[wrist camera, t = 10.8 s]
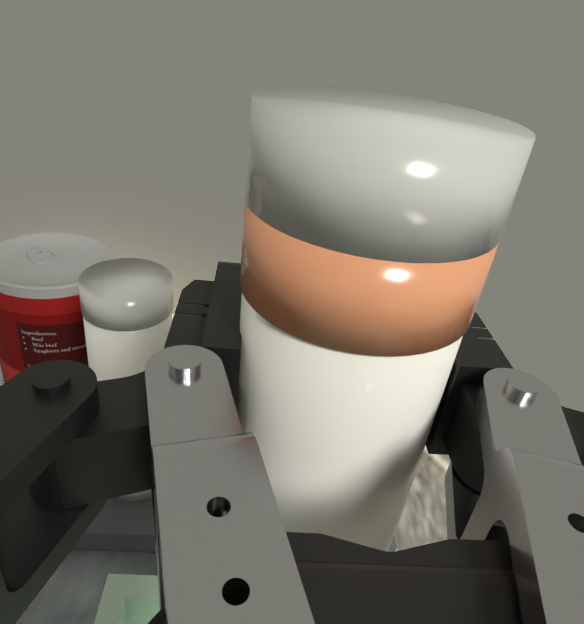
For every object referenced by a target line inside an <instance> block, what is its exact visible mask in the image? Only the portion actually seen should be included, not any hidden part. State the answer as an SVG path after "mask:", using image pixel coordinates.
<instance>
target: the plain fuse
mask: <svg viewBox="0 0 584 624" xmlns="http://www.w3.org/2000/svg"><path fill="white" fill-rule="evenodd" d="M78 288H79V297H80V306H81V313H82V315H83V321H84V330H85V339H86V347H87V356H88V365H89V367H90V368H91V369H92V370H93V371H94V372H95V374H96V377H97V381H103V380H110V379H116V378H123V377H128V376H132V375H135V374H138V373H140V372H143V371H144V370H145V365H146V363H147V361H148V360H149V358H150V357H151V356H152V355H154V354H155V353H156V352H158V351H160V350H162V349H164V346H165V343H166V339H167V336H168V333H169V330H170V327H171V324H172V310H173V276H172V274H171V272H170V271H169V270H168V269H167V268H166V267H164V266H162V265H161V264H158V263H156V262H152V261H149V260H144V259H137V258H119V259H111V260H106V261H102V262H99V263H96V264H93V265H91V266H89V267H88V268H86V269H85V270H84V271H82V272H81V274H80V275H79V277H78ZM150 498H152V496H151V489H150V490H146V491H142V492H137V493H133V494H129V495H124V496H120V497H115V499H117V500H120V501H124V502H139V501H144V500H147V499H150Z"/></svg>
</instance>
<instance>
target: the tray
mask: <svg viewBox="0 0 584 624" xmlns="http://www.w3.org/2000/svg"><path fill="white" fill-rule="evenodd" d="M159 611H160V607H159V592H158V576H157V575H134V574H109V573H108V575H107V579H106V582H105V586H104V589H103V593H102V596H101V600H100V603H99V607H98V610H97V614H96V617H95V621H94V624H148V623H149V621H150V620H151V619H152V618H153V617H154V616H155V615H156V614H157V613H158V612H159Z"/></svg>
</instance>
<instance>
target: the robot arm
mask: <svg viewBox="0 0 584 624" xmlns="http://www.w3.org/2000/svg"><path fill="white" fill-rule="evenodd" d="M240 270H241V263H229V262H218V266H217V271H216V276H215V281H203V280H194V281H193V282H191V283H190V284H189V285H188V286H186V287H185V288H184V289H183V290H182V292H181V295H180V298H179V302H178V305H177V308H176V311H175V315H174V317H173V320H172V324H171V327H170V330H169V333H168V336H167V339H166V343H165V346H164V349H162V350H160V351H158V352H156V353H155V354H154V355H152V356H151V357H150V358H149V360H148V361H147V363H146V365H145V370H144V371H143V372H140V373H138V374H135V375H132V376H128V377H123V378H116V379H110V380H103V381H97V377H96V374H95V372H94V371H93V370H92V369H91V368H90V367H89V366H87V365H85V364H83V363H80V362H77V361H71V360H52V361H46V362H42V363H38V364H35V365H33V366H30V367H28V368H26V369H24V370H22V371H21V372H19V373H18V374H16V375H15V376H14V377H12V378H11V379H10V380H8V381H7V382H6V383H4V384H3V385H2V386H0V624H15V623H16V622H17V620H18V619H19V618H20V616H21V615H22V614H23V612H24V611H25V610H26V608H27V607H28V606H29V604H30V603H31V602H32V601H33V599H34V598H35V597H36V595H37V594H38V593H39V591H40V590H41V589H42V587H43V586H44V585H45V583H46V582H47V581H48V580H49V578H50V577H51V576H52V574H53V573H54V572H55V570H56V569H57V568H58V566H59V565H60V564H61V562H62V561H63V560H64V559H65V557H66V556H67V555H68V553H69V552H70V551H71V549H72V548H73V547H74V545H75V544H76V543H77V541H78V540H79V539H80V538H81V536H82V535H83V534H84V532H85V531H86V530H87V528H88V527H89V526H90V524H91V523H92V522H93V520H94V519H95V518H96V517H97V515H98V514H99V513H100V511H101V510H102V509H103V507H104V506H105V504H106V502H107V500H108V499H111V498H115V497H120V496H124V495H129V494H133V493H137V492H142V491H146V490H150V489H151V496H152V509H153V522H154V535H155V548H156V561H157V576H158V592H159V607H160V611H159V612H158V613H157V614H156V615H155V616H154V617H153V618H152V619H151V620H150V621H149V623H148V624H584V413H583V412H580V411H576V410H572V409H569V408H565V407H562V406H561V405H560V402H559V399H558V397H557V395H556V394H555V392H554V391H553V390H552V389H551V388H550V386H548V385H547V384H546V383H544V382H543V381H542V380H540V379H539V378H537V377H535V376H533V375H531V374H529V373H526V372H523V371H520V370H516V369H513V367H512V366H511V364H510V363H509V361H508V360H507V358H506V357H505V355H504V354H503V352H502V351H501V349H500V348H499V346H498V345H497V343H496V342H495V340H493V339H492V338H493V337H492V335H491V334H490V332H489V331H488V329H485V328H486V327H485V325H484V323H483V322H482V321H481V319H480V317H479V316H478V315H477V313H474V315H473V318H472V321H471V324H470V327H469V328H468V330H467V331H466V333H465V334H464V335H463V337H462V340H461V343H460V346H459V349H458V352H457V355H456V357H455V360H454V363H453V366H452V369H451V372H450V375H449V378H448V381H447V383H446V386H445V389H444V392H443V395H442V398H441V401H440V404H439V407H438V409H437V412H436V415H435V418H434V421H433V424H432V427H431V430H430V433H429V435H428V438H427V441H426V447H427V450H428V453H429V454H445V455H446V454H447V455H449V457H450V459H451V462H450V465H449V467H448V470H447V472H446V475H445V490H446V514H447V538H448V540H444V541H440V542H436V543H431V544H427V545H423V546H418V547H414V548H410V549H405V550H401V551H396V552H387V551H382V550H379V549H375V548H371V547H368V546H364V545H361V544H357V543H353V542H350V541H346V540H343V539H339V538H335V537H332V536H328V535H325V534H321V533H300V532H286V531H285V528H284V525H283V521H282V518H281V515H280V512H279V509H278V506H277V503H276V499H275V496H274V493H273V490H272V487H271V484H270V480H269V477H268V474H267V471H266V468H265V465H264V462H263V458H262V455H261V452H260V449H259V446H258V443H257V440H256V438H255V436H254V434H253V433H252V432H246V433H243V431H242V427H241V424H240V420H239V417H238V413H237V397H238V383H239V370H240V356H241V342H242V337H241V333H240V312H241V297H242V290H241V287H240Z"/></svg>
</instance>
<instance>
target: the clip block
mask: <svg viewBox="0 0 584 624" xmlns="http://www.w3.org/2000/svg"><path fill="white" fill-rule="evenodd" d="M396 547H397V546H396V541H395V537H393V539H392V542H391V545H390V548H389V551H388V552H395V549H396ZM72 549H87V550H110V551H134V552H156V548H155V535H154V522H153V509H152V498H150V499H147V500H144V501H139V502H124V501H120V500H117V499H115V498H111V499H108V500H107V502H106V504H105V506H104V507H103V509H102V510H101V511H100V513H99V514H98V515H97V517H96V518H95V519H94V520H93V522H92V523H91V524H90V526H89V527H88V528H87V530H86V531H85V532H84V534H83V535H82V536H81V538H80V539H79V540H78V541H77V543H76V544H75V545H74V547H73V548H72Z"/></svg>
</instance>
